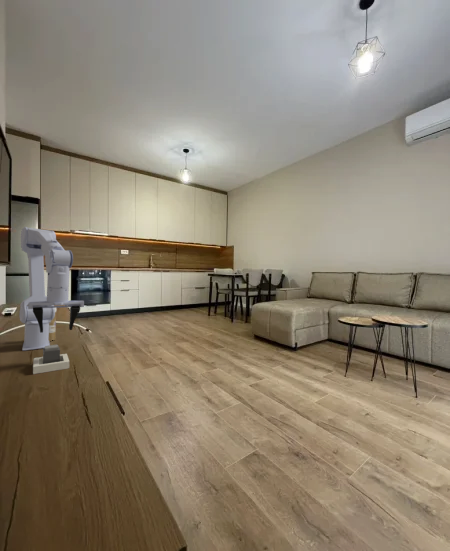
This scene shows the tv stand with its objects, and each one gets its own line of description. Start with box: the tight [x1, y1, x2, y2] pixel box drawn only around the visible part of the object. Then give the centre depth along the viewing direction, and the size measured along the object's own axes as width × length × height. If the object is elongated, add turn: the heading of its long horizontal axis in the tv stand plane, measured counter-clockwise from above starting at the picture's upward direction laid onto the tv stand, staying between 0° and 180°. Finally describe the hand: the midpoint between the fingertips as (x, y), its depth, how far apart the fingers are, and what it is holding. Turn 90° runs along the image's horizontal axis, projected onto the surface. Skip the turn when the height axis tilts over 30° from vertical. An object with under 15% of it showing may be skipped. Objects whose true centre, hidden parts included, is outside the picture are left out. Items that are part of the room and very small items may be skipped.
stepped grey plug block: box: [42, 344, 61, 364], centre depth 75 cm, size 4×4×6 cm
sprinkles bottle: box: [49, 308, 58, 342], centre depth 102 cm, size 5×5×14 cm
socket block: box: [32, 353, 70, 375], centre depth 75 cm, size 8×8×2 cm
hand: (56, 330), depth 80 cm, fingers open, 7 cm apart
